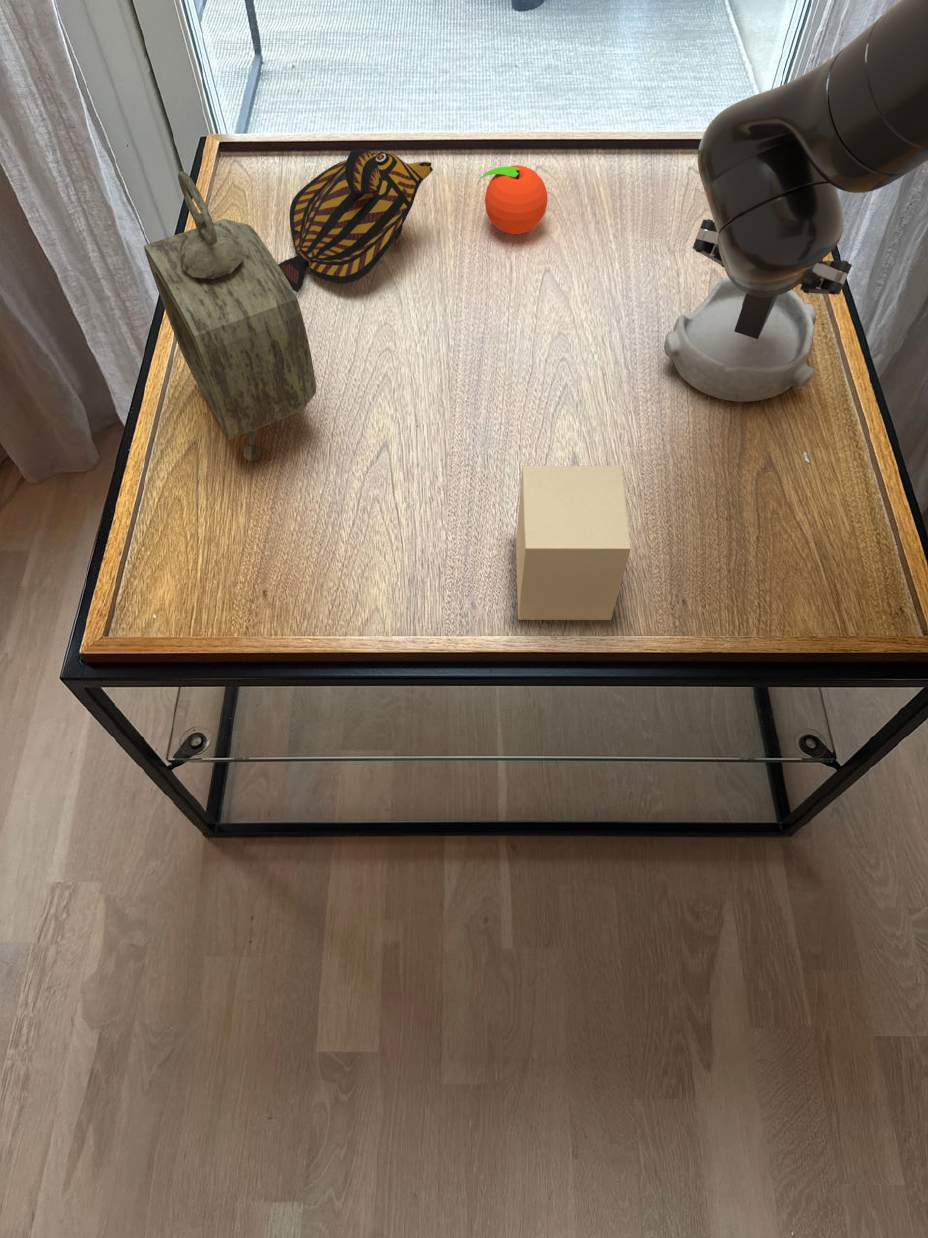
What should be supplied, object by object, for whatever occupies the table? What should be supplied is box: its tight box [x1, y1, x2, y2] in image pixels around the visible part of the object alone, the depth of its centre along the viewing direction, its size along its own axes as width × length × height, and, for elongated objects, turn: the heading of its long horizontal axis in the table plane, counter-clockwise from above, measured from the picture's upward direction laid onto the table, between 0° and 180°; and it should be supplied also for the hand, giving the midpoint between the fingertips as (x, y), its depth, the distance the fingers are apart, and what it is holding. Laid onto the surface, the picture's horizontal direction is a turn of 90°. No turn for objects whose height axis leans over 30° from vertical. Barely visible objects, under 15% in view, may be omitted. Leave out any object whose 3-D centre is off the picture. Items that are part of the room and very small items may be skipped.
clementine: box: [476, 164, 549, 235], centre depth 101 cm, size 8×7×7 cm
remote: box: [734, 293, 777, 339], centre depth 86 cm, size 3×5×8 cm, turn 154°
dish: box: [663, 276, 817, 403], centre depth 92 cm, size 14×14×5 cm
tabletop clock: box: [143, 171, 317, 462], centre depth 80 cm, size 14×9×25 cm, turn 29°
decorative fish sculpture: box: [277, 148, 434, 292], centre depth 97 cm, size 14×16×12 cm
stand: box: [515, 465, 632, 621], centre depth 76 cm, size 8×8×11 cm
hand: (770, 272), depth 87 cm, fingers closed on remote, 2 cm apart
